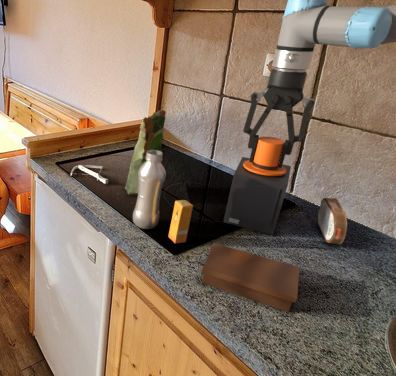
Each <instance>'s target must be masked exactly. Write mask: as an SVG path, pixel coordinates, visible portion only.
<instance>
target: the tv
mask: <svg viewBox="0 0 396 376" xmlns="http://www.w3.org/2000/svg"><path fill="white" fill-rule="evenodd" d="M249 159H250V157H245V156H242V157H241V159H240V161H239V163H238V165H237V166H236V169H235V170H234V173H233V177H232V183H231V186H230V191H229V194H228V199H227V203H226V207H225V213H224V216H223V223H225V224H229V225H232V226H236V227H239V228H244V229H247V230H251V231H255V232H259V233H263V234H267V235H271V236H274V234H275V230H276V227H277V223H278V220H279V218H280V217H279V216H280V213H281V210H282V206H283V203H284V199H285V196H286V192H287V189H288V186H289V181H290V175H291V169H292V167H291V165H289V164H283V165H282V166H283V167H285V168H286V173H285V174H284V175H281V176H267V175H261V174H257V173H254V172H251V171H249V170H247V169H246V168H244V166H243V164H244V162H245V161H247V160H249Z"/></svg>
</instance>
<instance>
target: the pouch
mask: <svg viewBox="0 0 396 376" xmlns="http://www.w3.org/2000/svg"><path fill="white" fill-rule="evenodd" d="M166 113H167V111H165V110H163V109H160V110H158V111H156V112H155V111H154V112H153V113H152V115H150V116H148V117H146V116H145V117H143V118H142V120H141V124H140V126H139V129H140V131H139V134H138V140H137V142H136V145H135V146H134V147H133V148H134V149H133V150H134V151H133V152H134V153H133V155H132V157H131V161H130V164H129V171H128V175H127V179H126V183H125V187H124V189H125V191H126V192H127V195H128V196H130V195H131V196H138V187H139V182H138V172H139V169H140V167H141V166H142V165H143V164H144V163H145V162H146V161H147V160H146V154H147V151H148V150H157V151H161V152H162V153H163V150H162V145H163V141H164V126H165V122H166Z"/></svg>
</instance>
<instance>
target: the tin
mask: <svg viewBox="0 0 396 376" xmlns="http://www.w3.org/2000/svg"><path fill="white" fill-rule="evenodd" d="M317 224H318V227H319V229H320V232H321V234H322V236H323V238H324V240H325V242H326V243H328V244H332V245H333V244H334V245H338V246H341V245H343V243H344V241H345V239H346V236H347V231H348V216H347V214H346V212H345V210H344V208H343V207H342V205H341V203H340V202H339V200H338V198H336V197H334V198H333V197H324V198H322V199H321V200H320V205H319V209H318V212H317Z"/></svg>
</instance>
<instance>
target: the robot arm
mask: <svg viewBox="0 0 396 376" xmlns="http://www.w3.org/2000/svg"><path fill="white" fill-rule="evenodd" d="M281 19H282V22H281V27H280V31H279V35H278V41H277V45H276V48H275V51H274V55H273V60H272V64H271V66H272V67H273V68H272V69H271V70H270V72H269V76H268V80H267V85H266V88H265V89H264V90H263V91H259V92H257V91H253V92H252V93H251V94H250V106H249V110H248V113H247V116H246V119H245V123H244V126H243V130H242V132H243V133H244V134H248V135H249V137H248V143H247V149H251V151H250V156H249V158H250V159H249V162H253V158H254V154H255V150H256V146H257V141H258V138H259V137H260V135H259V134H258V132H259V130H260V129H261V128H262V126H263V124H264V123H265V121H266V119H267V117H268V116H269V115H270V113H271V111H272V110H273V111H274V110H275V111H278V110H279V111H282V112H285V115H286V124H287V125H286V126H287V136H288V139H285V140H284V142H285V144H284V147H283V151H282V155H281V159H280V162H279V166H278V168H282V165H284V161H285V158H286V155H287V156H291V154H292V152H293V148H294V145H295V143H298V142H301V143H302V142H304V141H305V136H306V133H307V126H308V121H309V116H310V111H311V110H312V108H313V106H314V105H315V99H314V98H312V97H311V98H309V97H307V96H304V92H303V91H304V87H305V83H306V80H307V77H308V73H307V70H309V69H310V65H311V62H312V58H313V54H314V50H315V47H316V45H325V46H333V47H334V46H335V47H345V48H352V49H354V50H357V49H369V50H371V49H375V48H377V47H379V46H380V45H386V44H393V43H396V4H392V5H386V6H371V5H369V6H367V5H366V6H347V5H346V6H345V5H344V6H343V5H342V6H333V5H328V0H287V3H286V7H285V10H284V14H283V15H282V18H281ZM262 98H264V100H265V102H266V104H267V105H266V108H265V109H264V111H262V114H261V115H260V117H259V119H258V120H257V122H256V124H255V125H254V127H253V128H252V127H251V126H252V122H253V119H254V116H255V113H256V109H257V107H258V103H259V102H260V101H261V100H262ZM301 102H302V104H301V106H302V107H303V112H302V115H301V122H300V127H299V131H298V134H297V135H296V134H295V122H294V109H293V108H294V107H295V106H297V105H298V104H299V103H301Z"/></svg>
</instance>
